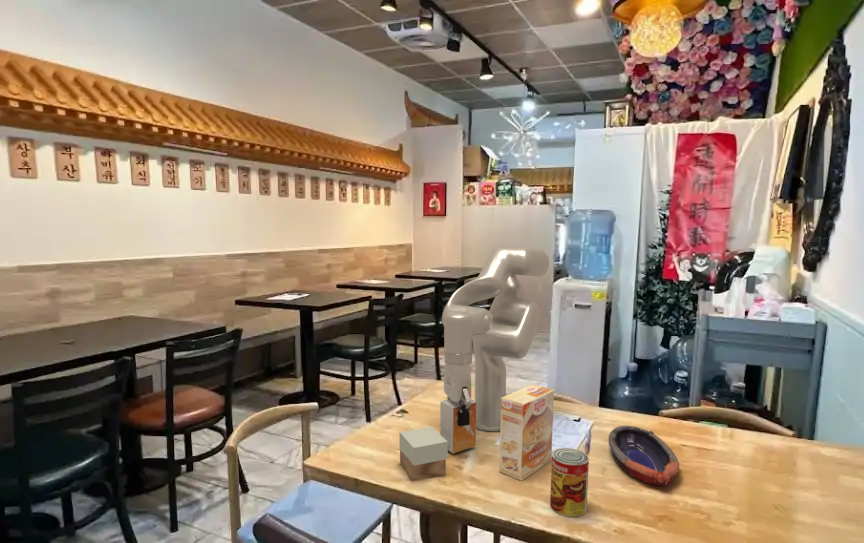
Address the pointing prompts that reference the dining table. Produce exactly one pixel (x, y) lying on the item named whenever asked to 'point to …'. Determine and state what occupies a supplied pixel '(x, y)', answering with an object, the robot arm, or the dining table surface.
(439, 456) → the tower top
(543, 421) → the coffeecake box
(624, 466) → the dish
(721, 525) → the dining table surface
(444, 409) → the small box
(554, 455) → the canned food
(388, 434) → the dining table surface
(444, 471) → the tower base
